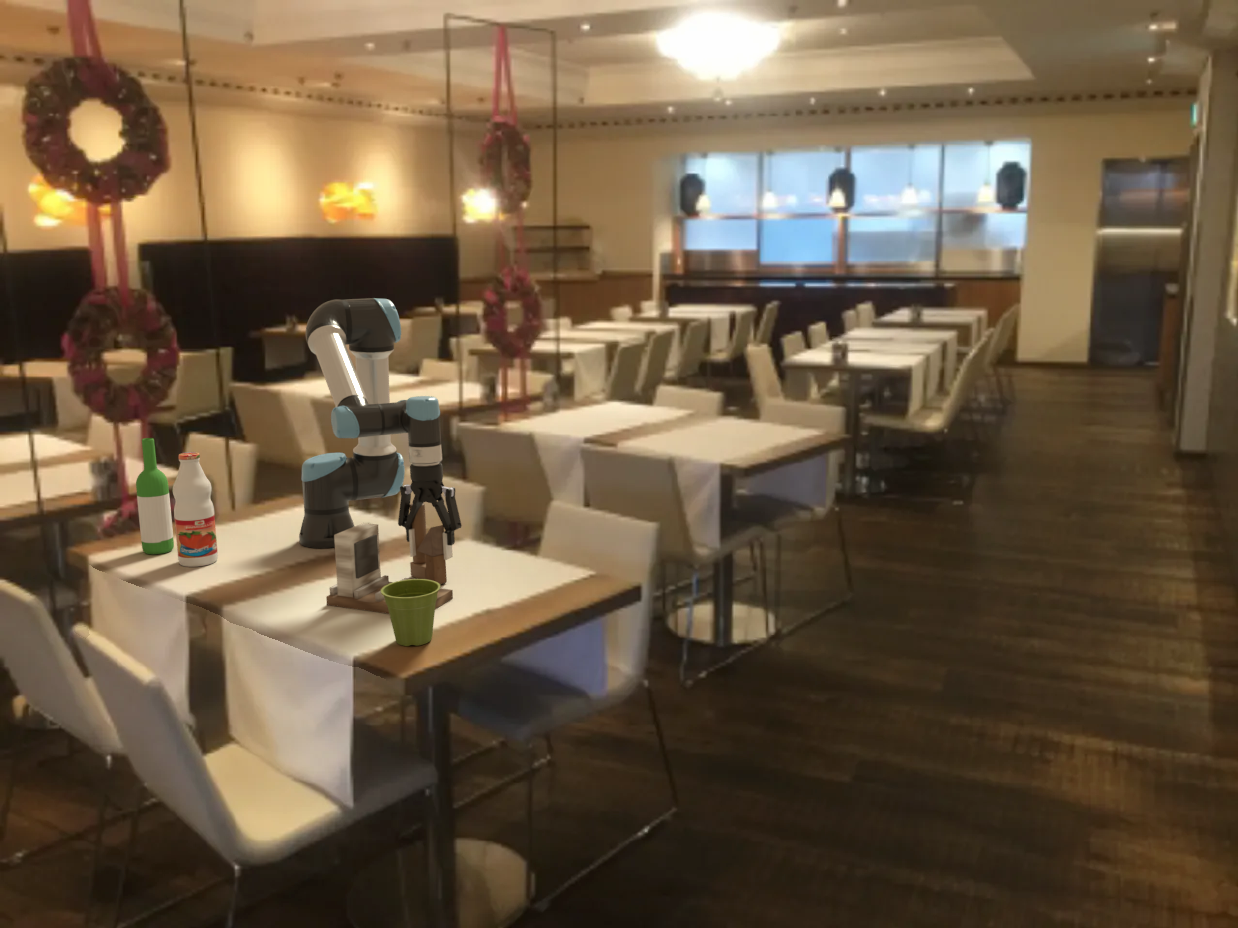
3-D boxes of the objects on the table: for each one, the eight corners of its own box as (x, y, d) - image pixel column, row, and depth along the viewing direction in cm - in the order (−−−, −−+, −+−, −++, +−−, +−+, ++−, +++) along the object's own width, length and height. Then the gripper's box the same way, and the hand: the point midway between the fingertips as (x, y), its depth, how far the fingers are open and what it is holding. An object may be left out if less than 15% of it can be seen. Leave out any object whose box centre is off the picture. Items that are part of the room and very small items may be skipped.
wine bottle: (180, 550, 286) (169, 438, 280) (151, 557, 280) (140, 442, 274) (165, 545, 291) (154, 435, 285) (136, 551, 285) (125, 439, 279)
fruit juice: (214, 554, 282) (205, 448, 276) (221, 563, 274) (212, 455, 268) (176, 560, 277) (166, 452, 272) (181, 569, 269) (171, 458, 264)
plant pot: (400, 628, 228) (398, 576, 225) (452, 633, 224) (450, 581, 222) (372, 648, 217) (369, 594, 214) (426, 654, 213) (424, 599, 211)
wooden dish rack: (363, 586, 255) (359, 520, 252) (452, 598, 246) (450, 530, 243) (326, 604, 242) (322, 535, 239) (419, 618, 234) (416, 546, 230)
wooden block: (434, 586, 255) (429, 511, 251) (410, 576, 263) (405, 504, 259) (447, 582, 257) (443, 508, 253) (423, 573, 265) (419, 501, 261)
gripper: (378, 463, 254) (384, 557, 258) (457, 468, 246) (462, 564, 251) (396, 458, 261) (401, 549, 265) (474, 462, 253) (478, 556, 257)
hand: (431, 556), depth 258 cm, fingers open, 8 cm apart
